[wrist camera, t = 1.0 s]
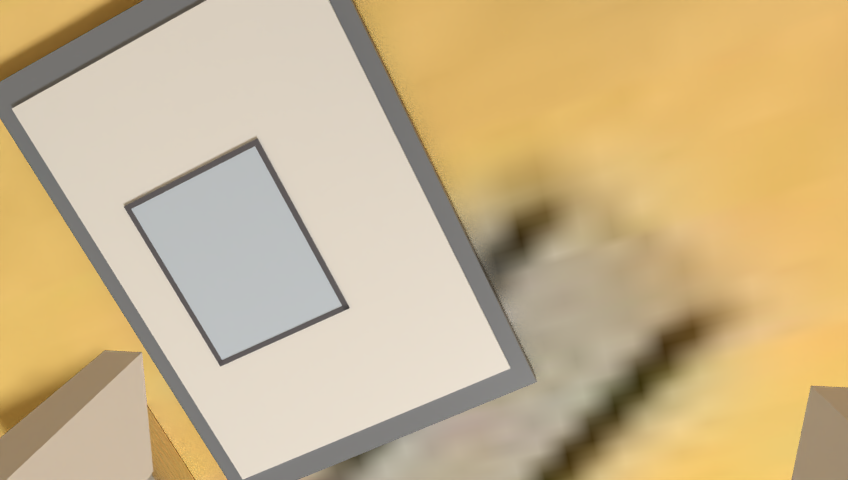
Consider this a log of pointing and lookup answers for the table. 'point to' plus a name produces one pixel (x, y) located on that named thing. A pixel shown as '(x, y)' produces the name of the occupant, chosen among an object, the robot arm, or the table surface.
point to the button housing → (165, 455)
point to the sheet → (267, 226)
